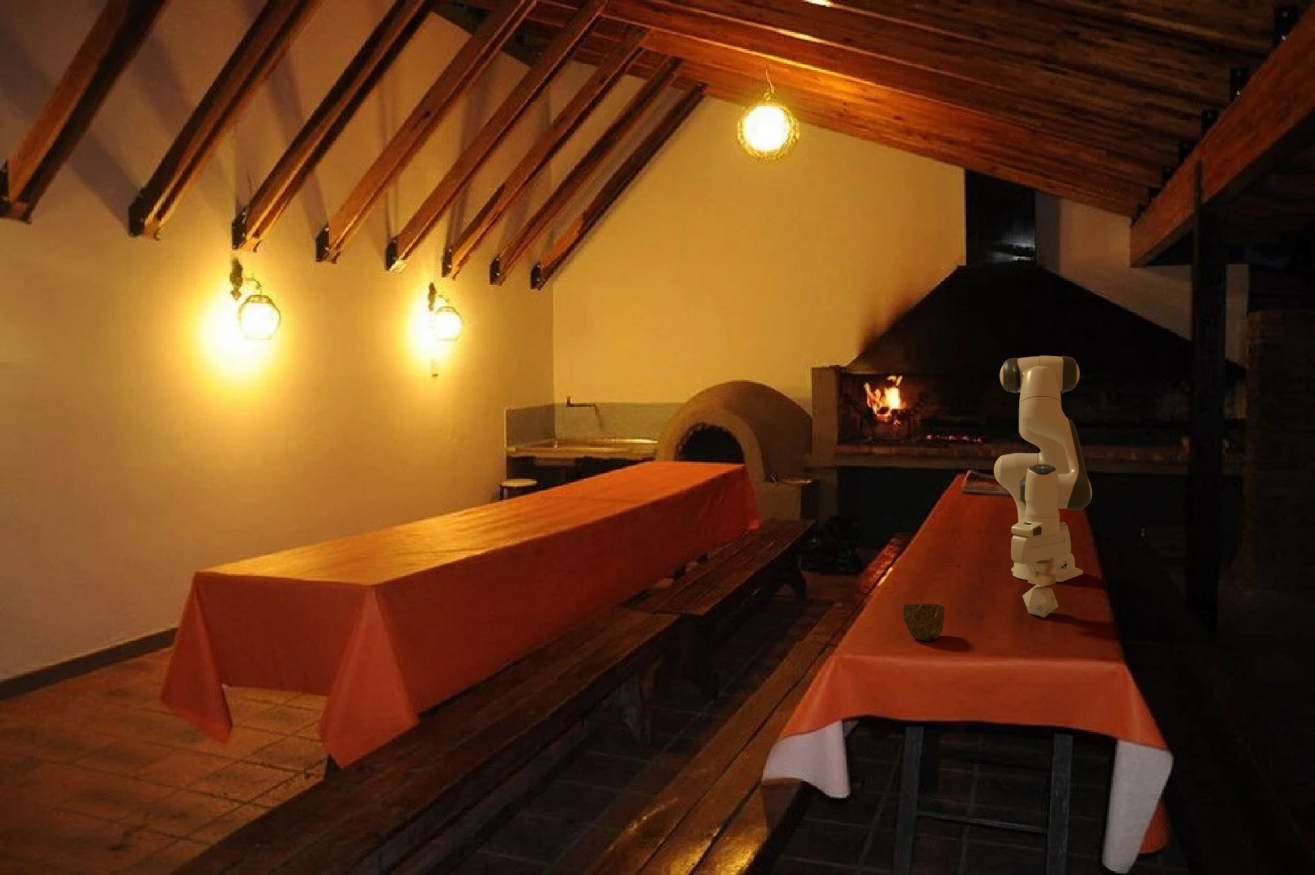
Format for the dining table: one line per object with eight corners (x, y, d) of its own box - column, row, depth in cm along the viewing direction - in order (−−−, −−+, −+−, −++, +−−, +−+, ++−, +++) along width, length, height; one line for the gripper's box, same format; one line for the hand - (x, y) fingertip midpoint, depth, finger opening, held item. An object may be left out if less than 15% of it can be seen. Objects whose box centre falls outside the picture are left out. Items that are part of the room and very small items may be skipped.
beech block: (1040, 579, 276) (1040, 558, 275) (1055, 583, 272) (1055, 561, 271) (1027, 582, 273) (1028, 561, 273) (1043, 586, 269) (1043, 564, 268)
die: (1027, 621, 270) (1050, 596, 266) (1010, 599, 277) (1033, 574, 273) (1047, 627, 274) (1070, 602, 270) (1030, 605, 281) (1052, 580, 277)
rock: (933, 612, 263) (956, 598, 256) (941, 648, 258) (964, 635, 251) (896, 607, 259) (918, 593, 252) (902, 643, 254) (925, 630, 246)
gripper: (1057, 518, 279) (1057, 567, 280) (1006, 528, 269) (1006, 578, 270) (1077, 522, 273) (1076, 571, 275) (1026, 531, 263) (1025, 583, 265)
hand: (1041, 575), depth 272 cm, fingers closed on beech block, 5 cm apart
